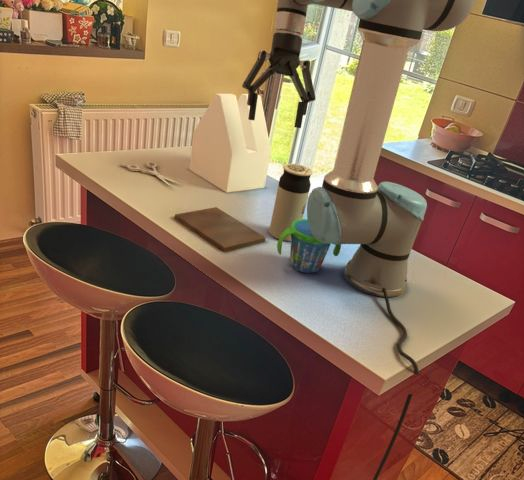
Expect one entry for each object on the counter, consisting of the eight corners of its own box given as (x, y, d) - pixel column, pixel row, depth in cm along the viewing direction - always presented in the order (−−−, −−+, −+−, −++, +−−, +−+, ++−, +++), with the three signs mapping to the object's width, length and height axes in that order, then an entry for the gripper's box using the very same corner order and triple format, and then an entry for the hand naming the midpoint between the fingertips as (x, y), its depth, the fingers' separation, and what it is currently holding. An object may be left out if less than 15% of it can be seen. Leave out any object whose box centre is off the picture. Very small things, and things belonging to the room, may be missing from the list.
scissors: (149, 160, 171) (191, 182, 162) (149, 162, 172) (190, 185, 162) (120, 163, 164) (163, 187, 155) (120, 166, 165) (162, 190, 155)
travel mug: (264, 234, 144) (277, 167, 133) (276, 225, 150) (289, 160, 139) (291, 244, 142) (306, 177, 131) (302, 235, 148) (318, 170, 137)
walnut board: (264, 241, 140) (265, 237, 140) (223, 251, 131) (224, 247, 131) (215, 211, 151) (216, 206, 150) (174, 218, 142) (174, 214, 141)
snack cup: (277, 274, 127) (286, 234, 121) (269, 253, 135) (277, 215, 129) (339, 280, 131) (351, 241, 125) (328, 259, 139) (339, 222, 133)
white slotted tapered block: (189, 169, 174) (198, 85, 159) (227, 165, 183) (238, 85, 168) (226, 192, 163) (239, 104, 149) (264, 187, 173) (279, 104, 158)
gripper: (324, 45, 146) (310, 129, 154) (237, 25, 137) (226, 115, 145) (337, 43, 140) (321, 131, 148) (247, 22, 130) (235, 117, 138)
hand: (274, 124), depth 146 cm, fingers open, 13 cm apart
